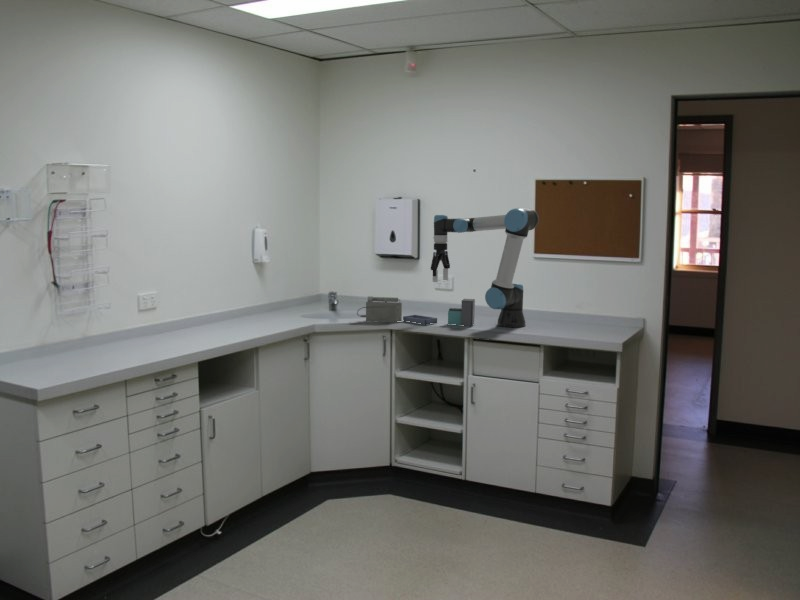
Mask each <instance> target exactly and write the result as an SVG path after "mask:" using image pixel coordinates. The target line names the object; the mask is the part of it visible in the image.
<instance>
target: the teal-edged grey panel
mask: <svg viewBox="0 0 800 600" xmlns="http://www.w3.org/2000/svg"><path fill="white" fill-rule="evenodd" d="M461 308H462V307H460V308H459V307H449V308H448V311H447V325H448V324H456V325H461Z"/></svg>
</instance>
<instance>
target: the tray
mask: <svg viewBox="0 0 800 600" xmlns="http://www.w3.org/2000/svg"><path fill="white" fill-rule="evenodd" d="M403 320H404V321H410V322H416V323H421V324H425V325H424V326H427V325H426V324H430V323H437V324H438V317H433V316H427V315H426V316H425V315H421V314H420V315H419V314H411V315H403V317H402V321H403Z"/></svg>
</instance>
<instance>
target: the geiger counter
mask: <svg viewBox="0 0 800 600" xmlns="http://www.w3.org/2000/svg"><path fill="white" fill-rule="evenodd" d="M361 309H365V314H362V315H360V314H358V313H359V311H360V310H361ZM402 309H403V303H402V302H401V301H400V299H399V297H391V296H390V297H388V296H387V297H385V296H383V297H382V296H379V297H378V296H369V295H368V296H367V301H365V306H362V307H361V308H359V309H357V311H356V315H357V316H358V317H361V318H365V322H366V321H380V322H379V323H398V322H397V321H402V322H403V317H402V311H403V310H402Z"/></svg>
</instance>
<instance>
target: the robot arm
mask: <svg viewBox="0 0 800 600" xmlns="http://www.w3.org/2000/svg"><path fill="white" fill-rule="evenodd" d="M433 217H434V218H433V237H432V238H433V250H434V251H433V253H432V260H431V264H430V271H432V282H433V283H438V282H439V280H438V276H439V272H438V271H439V270H438V268H439V265H440V262H441V263H442V266H443V268H442V280H443V281H448V280H449V269H450V268H451V263H450V260H449V255H448V254H449V253H448V233H458V234H459V233H472V232H482V231H494V230H495V231H496V230H504V233H505V234H506V238H505V243H504V246H503V249H502V250H503V251H502V254H501V258H500V262H499V266H498V271H497V273H496V277H495V279H493V280H492V282H491V285H490V288H488V289H487V290H486V292H485V294H484V299H485V302H486V304H487V306H489V308H490V309H493V310H500V313H499V316H498V318H497V326H500V327H505V328H522V327H526V319H525V314H524V311H523V306H524V286H523V284H521V283H513V280H514V276H515V274H516V273H515V272H516V270H517V265H518V260H519V257H520V253H521V250H522V246H523V243H524V240H525V239H526V238H527V237H528V234H529V231H532V230H535V228H536V227H537V226H538V225H539V222H540V217H539V214H538V212H537V211H536V210H535V209H533V208H530V207H529V208H527V207H526V208H525V207H523V208H522V207H521V208H520V207H517V208H512V209H510V210H508V212H507V213H506V214H500V215H489V216H481V217H480V216H479V217H469V218H468V217H465V218H460V217H459V218H448V215H447V214H436V215H434V216H433Z"/></svg>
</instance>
